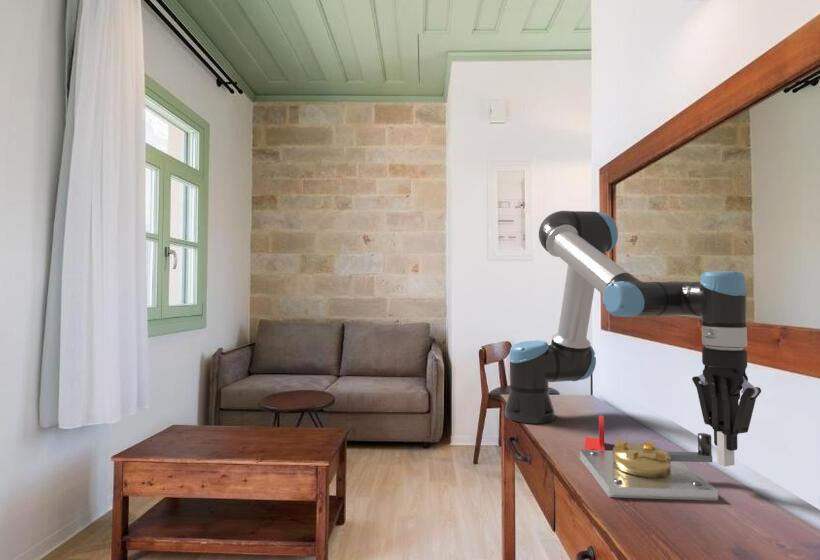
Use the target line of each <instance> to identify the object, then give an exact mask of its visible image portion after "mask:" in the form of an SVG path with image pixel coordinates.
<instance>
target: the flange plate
mask: <svg viewBox="0 0 820 560" xmlns="http://www.w3.org/2000/svg"><path fill="white" fill-rule="evenodd" d="M579 459H580V460H581V462H582V463H583V464H584V466H585V467H586V469H587V470H588V471H589V472H590V473H592V474H591V475H592V477H593V478H594V479H595V480H596V481H597V483H598V484H599V486H600V487H601V489H602V490H603V492H605V494H606V496H607V497H608V498H617V499H618V498H619V499H623V498H624V499H647V500H648V499H649V500H650V499H651V500H675V501H676V500H679V501H680V500H681V501H710V502H712V501H713V502H714V501H715V502H719V490H718V489H717V488H716V487H715V486H713V485H712V484H711V483H709V482H708V481H707V480H705V479H704V478H702V477H701V476H700V475H699V474H697V473H696V472H694V471H693V470H692V469H691V468H689V467H688V466H687V465H685V464H684V463H683V462H679V461H671V473H670V474H669V475H667V476H663V477H644V476H638V475H634V474H630V473H627V472H624V471H622V470H620V469H618V468H617V467H615V466H614V464H613V450H606V449H605V450H585V449H580V450H579Z"/></svg>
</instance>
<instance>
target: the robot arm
mask: <svg viewBox="0 0 820 560" xmlns="http://www.w3.org/2000/svg"><path fill="white" fill-rule="evenodd" d="M618 238H619V231H618V226H617V223H616V222H615V219H614V218H613V216H611V215H609V214H608V213H605V212H600V211H599V212H598V211H593V210H592V211H589V210H588V211H587V210H586V211H583V210H580V211H579V210H578V211H577V210H575V211H574V210H573V211H572V210H559V211H555V212H552V213H551V214H549V215H547V216H546V217H545V219H543V221H542V222H541V224H540V226H539V229H538V239H539V243H540V245H541V247H542V248H543V249H544V250H545V251H546V252H547V253H549V255H551V256H552V257H557V258H559V259H561V260H563V262H565V263H566V264H567V271H566V275H565V283H564V289H563V297H562V302H561V310H560V317H559V324H558V329H557V333H555V334H553V335H552V337H551V343H550V344H549V343H548V342H547V341H545V340H527V341H520V342H516V343H515V344H513V345H512V346H511V347H510V351H509V383H510V384H509V395H508V397H507V401H506V403H505V406H504V407H505V408H504V417H505V418H506V419H508V420H511V421H514V422H517V423H518V422H519V423H523V424H546V423H550V422H552V421H553V422H554V420H555V417H556V416H555V415H556V413H555V408H554V405H553V403H552V400H551V397H550V393H549V383H556V382H578V381H582V380H586V379H588V378H590V377H591V376H592V375H593V373H594V371H595V370H596V369H595V368H596V365H597V364H596V363H597V359H596V356H595V355H596V352H595V350H594V348H593V347H592V345H591V341H590V340H588V338H587V334H588V330H589V323H590V317H591V311H592V305H593V300H594V294H595V290H597V291H598V292H599V293H600V294H601V295H602V302H603V303H602V304H603V305H604V306H605V311H606V312H608V313H609V314H610V315H611V316H613V317H624V318H634V317H635V318H636V317H653V316H654V317H655V316H656V317H659V316H660V317H662V316H663V317H664V316H665V317H667V316H687V317H688V316H693V317H701V343H702V345H704V347H703V348H701V359H702V361H701V362H702V365H704V368H703V370H702V374H700V375H698V376H692V378H691V380H692V382H693V385H694V386H695V387H696V391H697V396H698V400H699V405H700V410H701V414H702V419H703V423H704V424H705V425H707V426H710V427H711V428H712V430H713V443H714V446H716V452H717V453H716V457H717V461H716V462H717V465H719V466H722V467H729V466H735V451H737V450H738V435H739V434H746V433H748V432H749V430H750V429H749V428H750V424H751V420H752V417H753V412H754V408H755V405H756V399H758V397H759V396H760V394H761V393H762V388H761V387H760V386H759V387H758V386H754V385H753V384H751V383H750V382H749V378H748V375H747V373H746V370H747V368H748V351H747V350H746V349H744V348H747V347H748V331H747V330H748V329H747V295H748V291H747V286H746V277H745V274H744V273H742V272H741V271H738V270H736V271H735V270H734V271H730V270H729V271H723V270H722V271H705V272H702V273H701V275H700V280H699V281H677V280H676V281H673V280H672V281H642V280H640V279H638V278H637V277H635V276H634V275H632V274H631V273H630V272H628V271H627V270H625V269H624V268H623V267H622V266H620V265H619V264H618V263H616V261H614V260H612V259H611V258H609V257H608V256H606V254H607V252H610V251H611V250H614V247H616V246H617V243H618Z"/></svg>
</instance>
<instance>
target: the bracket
mask: <svg viewBox="0 0 820 560" xmlns="http://www.w3.org/2000/svg"><path fill="white" fill-rule="evenodd" d="M584 450H605V451H606V448H605V417H604V415H598V437H589V436H585V437H584Z"/></svg>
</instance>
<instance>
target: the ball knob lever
mask: <svg viewBox="0 0 820 560" xmlns="http://www.w3.org/2000/svg"><path fill="white" fill-rule="evenodd" d="M712 448H713V447H712V435H711V434H708V433H704V432H699V433H697V451H665V450H663V449H661V448H658V447H656V441H652V440H650V439H649V440H646V441H644V442H643V444H642V443H641V444H640V443H628V442H627V441H625V440H621V439H616V440H615V441H614V446H613V448H612V451H613V464H614V466H615V467H617V468H618V469H620V470H622V471H624V472H627V473H630V474H634V475H638V476H644V477H663V476H667V475H669V474H670V473H671V461H679V462H681V463H683V462H684V463H686V462H689V463H713V454H712V452H713V451H712V450H713V449H712Z"/></svg>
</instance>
